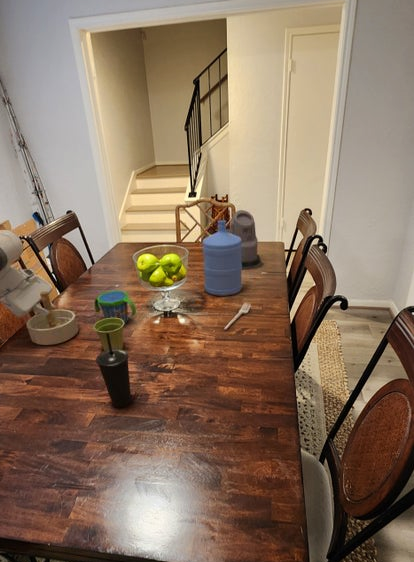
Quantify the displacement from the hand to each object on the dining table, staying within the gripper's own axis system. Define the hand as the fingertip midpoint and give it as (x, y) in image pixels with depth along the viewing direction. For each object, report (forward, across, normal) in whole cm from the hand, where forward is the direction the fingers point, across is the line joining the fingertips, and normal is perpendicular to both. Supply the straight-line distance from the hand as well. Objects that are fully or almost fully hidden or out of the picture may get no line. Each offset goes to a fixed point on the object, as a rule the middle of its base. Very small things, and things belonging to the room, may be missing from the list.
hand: (50, 311), depth 124 cm
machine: (+50, +79, -37) cm, 101 cm away
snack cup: (+20, +9, -7) cm, 23 cm away
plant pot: (+23, -9, -10) cm, 26 cm away
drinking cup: (+30, -36, -17) cm, 49 cm away
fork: (+50, +12, -38) cm, 64 cm away
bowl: (+6, 0, +7) cm, 9 cm away
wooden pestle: (+5, 0, +6) cm, 8 cm away
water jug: (+46, +40, -33) cm, 69 cm away
